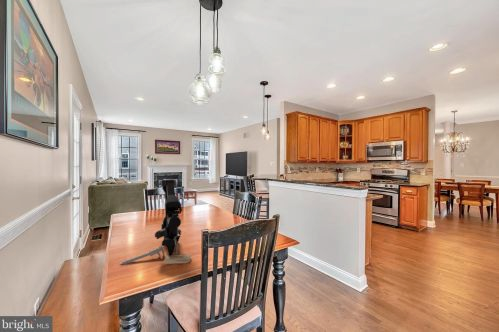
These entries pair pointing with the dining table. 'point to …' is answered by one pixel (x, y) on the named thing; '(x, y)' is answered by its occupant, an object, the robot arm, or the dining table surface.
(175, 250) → the brown block with knob
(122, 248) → the dining table surface
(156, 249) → the caliper
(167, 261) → the board
